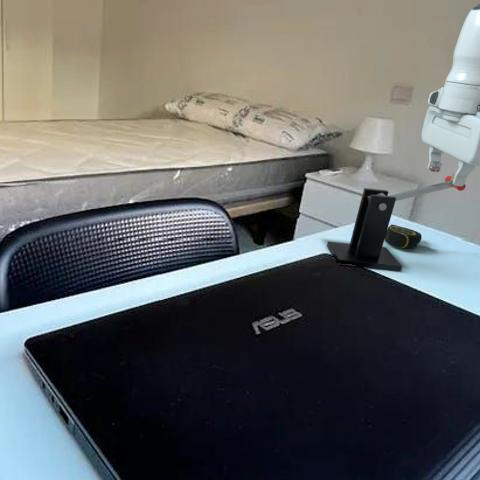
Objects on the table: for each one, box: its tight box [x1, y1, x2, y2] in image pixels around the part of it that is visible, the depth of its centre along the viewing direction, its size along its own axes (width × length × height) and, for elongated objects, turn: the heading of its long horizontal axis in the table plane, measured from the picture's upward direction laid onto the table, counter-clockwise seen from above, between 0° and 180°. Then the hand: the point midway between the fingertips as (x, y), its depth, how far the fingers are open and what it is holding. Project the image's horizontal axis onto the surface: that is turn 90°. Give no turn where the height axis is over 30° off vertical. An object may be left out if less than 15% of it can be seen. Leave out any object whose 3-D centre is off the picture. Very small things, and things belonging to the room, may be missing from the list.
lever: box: [367, 175, 466, 203], centre depth 94 cm, size 16×5×2 cm, turn 85°
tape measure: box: [384, 224, 423, 250], centre depth 107 cm, size 7×7×4 cm
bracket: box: [326, 187, 403, 273], centre depth 97 cm, size 12×9×14 cm
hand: (444, 177), depth 93 cm, fingers open, 8 cm apart
